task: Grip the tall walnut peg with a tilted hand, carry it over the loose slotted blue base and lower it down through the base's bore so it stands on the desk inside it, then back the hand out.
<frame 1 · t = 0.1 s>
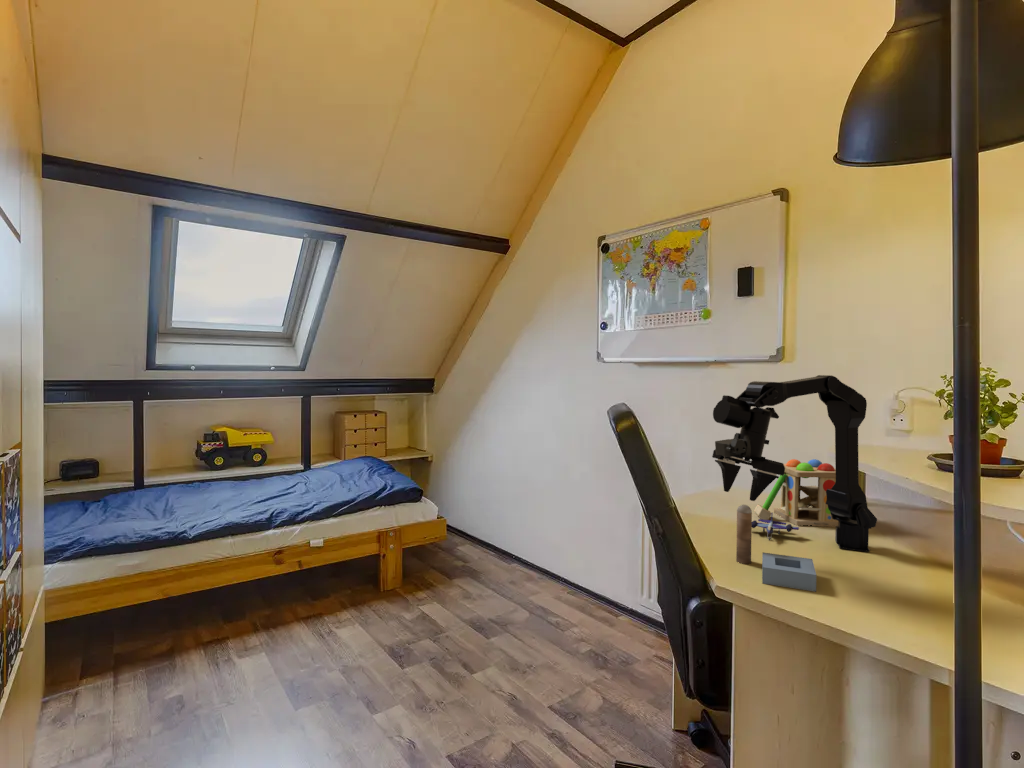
hand: (738, 496, 127), 15 cm above the table, tool pointing down, fingers open, 9 cm apart
toy airplane: (770, 537, 145), on the table
pounding bench toy: (794, 520, 161), on the table
slotted blue base: (787, 578, 116), on the table
walnut peg: (743, 561, 126), on the table
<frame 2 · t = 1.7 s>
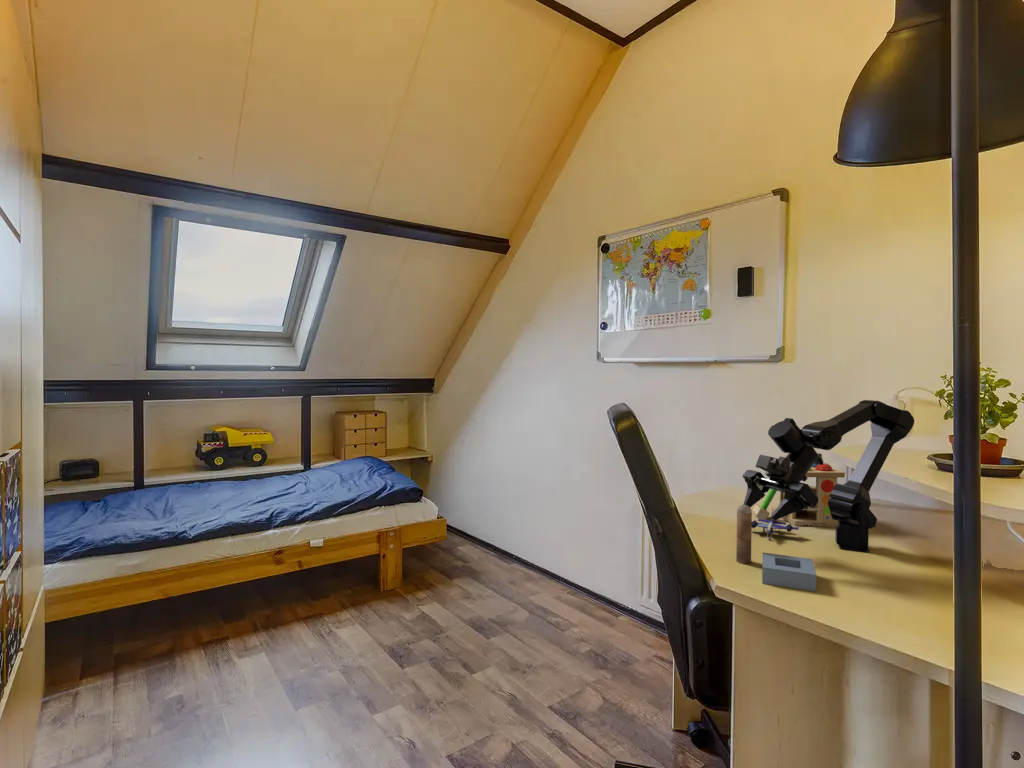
hand: (758, 513, 127), 11 cm above the table, tool tilted 45°, fingers open, 9 cm apart
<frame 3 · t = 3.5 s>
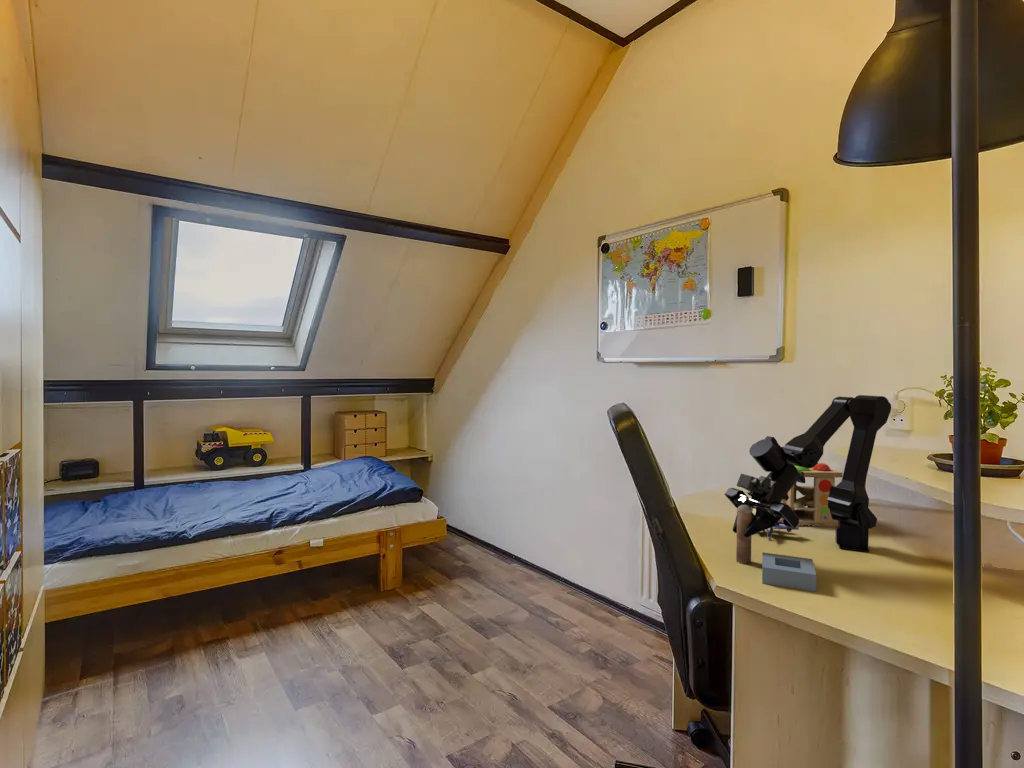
hand: (739, 533, 125), 7 cm above the table, tool tilted 45°, fingers closed on walnut peg, 3 cm apart
walnut peg: (743, 561, 126), on the table, touching gripper
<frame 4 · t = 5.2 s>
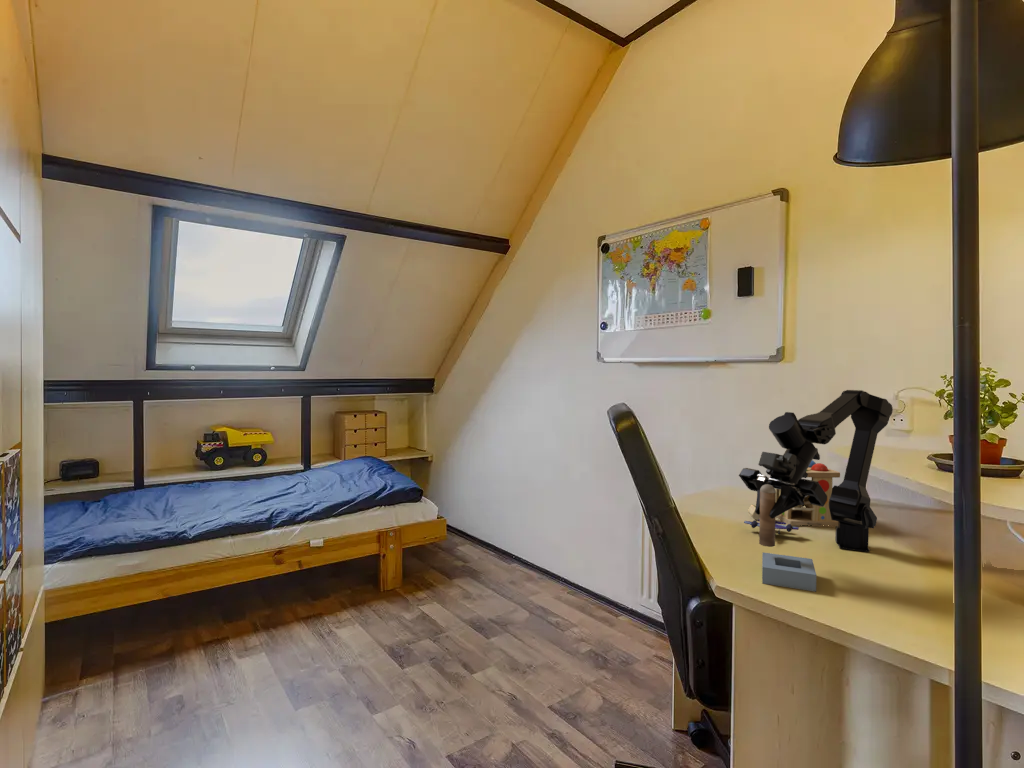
hand: (763, 515, 119), 13 cm above the table, tool tilted 45°, fingers closed on walnut peg, 3 cm apart
walnut peg: (767, 544, 120), point 6 cm above the table, touching gripper
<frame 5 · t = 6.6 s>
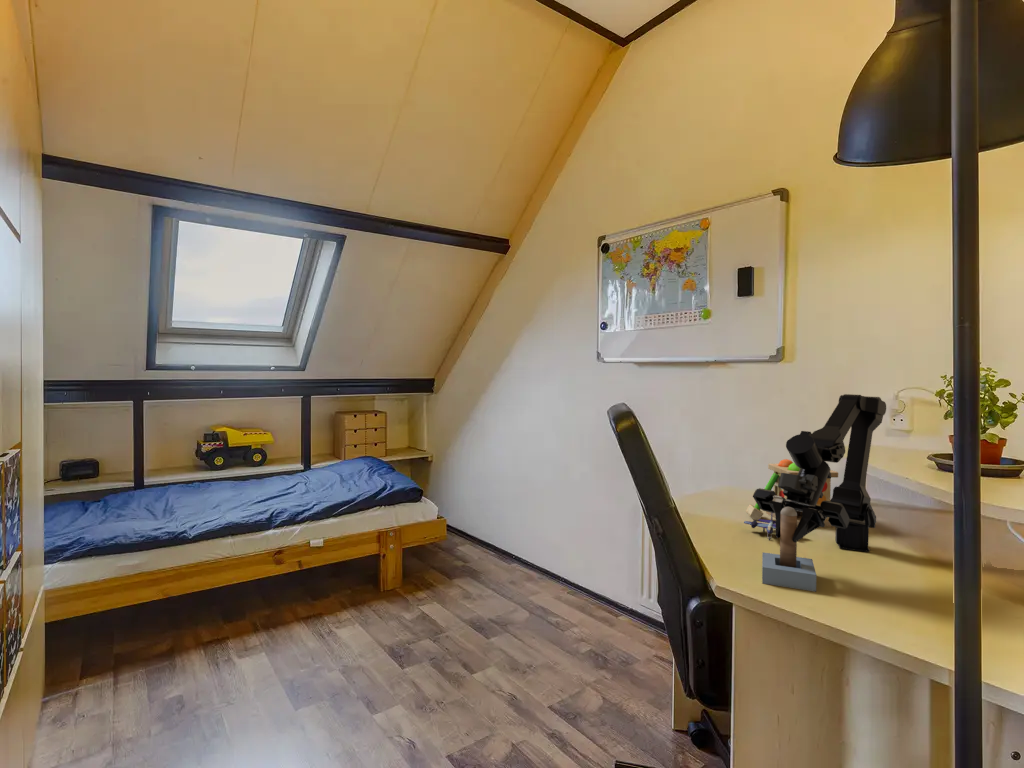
hand: (785, 539, 115), 9 cm above the table, tool tilted 45°, fingers closed on walnut peg, 3 cm apart
walnut peg: (787, 568, 116), point 2 cm above the table, touching gripper
when the fingers open (9 cm above the table, at t = 7.3 s): walnut peg drops 2 cm, resting in slotted blue base.
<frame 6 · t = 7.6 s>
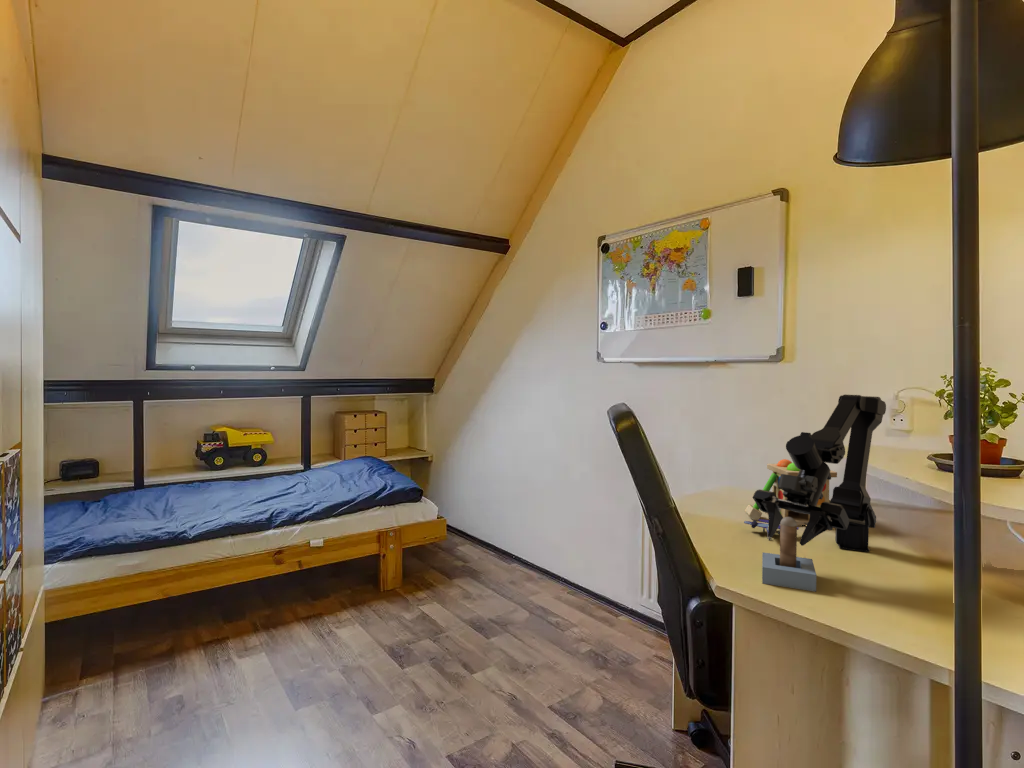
hand: (785, 540, 115), 9 cm above the table, tool tilted 45°, fingers open, 6 cm apart
walnut peg: (787, 578, 116), resting in slotted blue base
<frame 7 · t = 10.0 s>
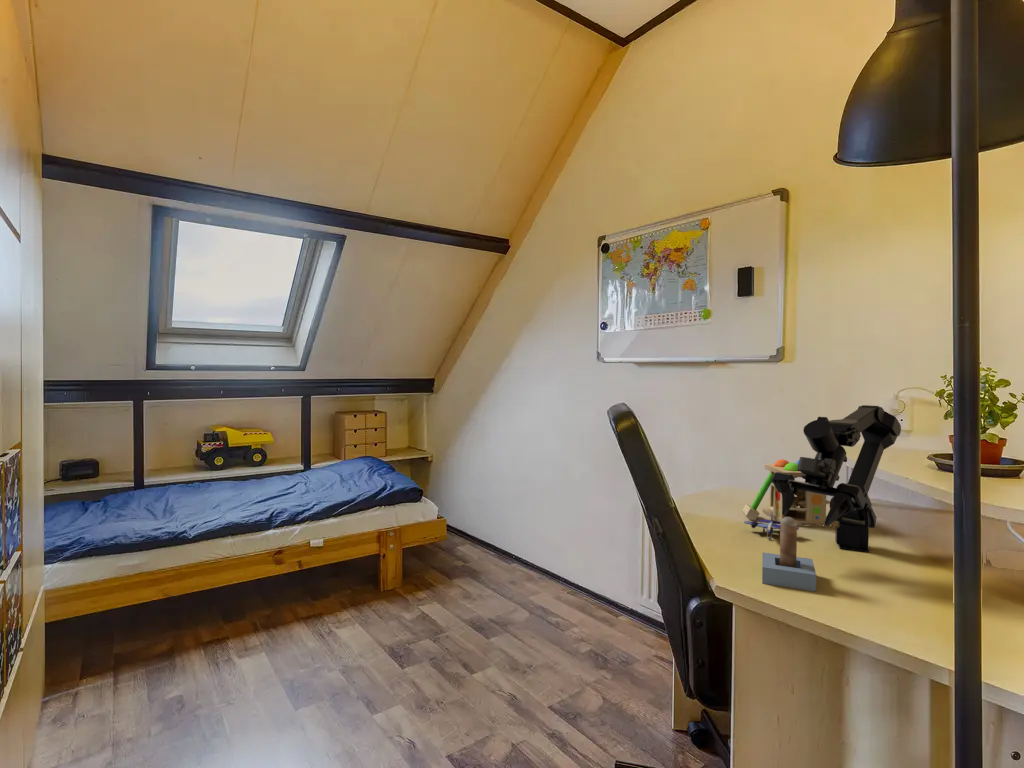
hand: (804, 519, 120), 12 cm above the table, tool tilted 45°, fingers open, 9 cm apart
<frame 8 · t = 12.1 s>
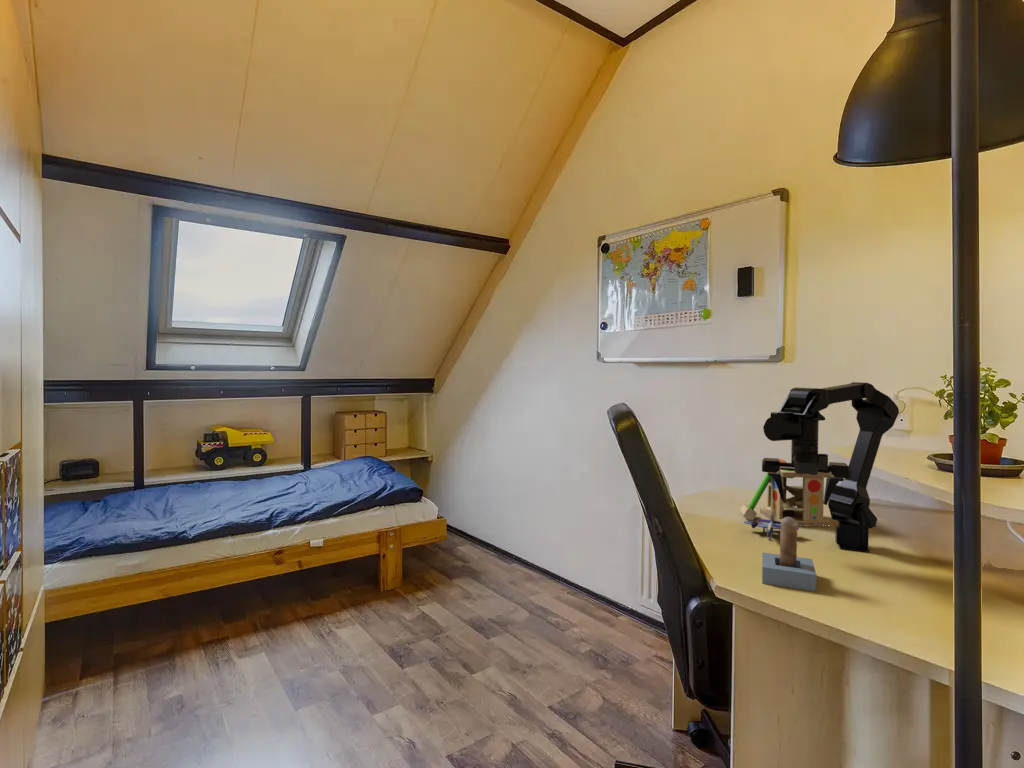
hand: (803, 502, 130), 13 cm above the table, tool pointing down, fingers open, 9 cm apart
at the end: walnut peg 0.0 cm from the slotted blue base (horizontally); walnut peg resting in slotted blue base; walnut peg tilted 0° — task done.
